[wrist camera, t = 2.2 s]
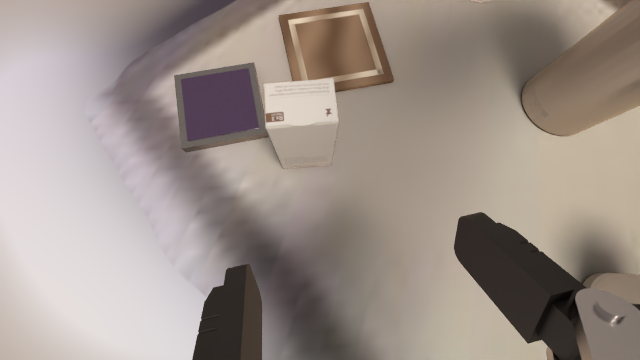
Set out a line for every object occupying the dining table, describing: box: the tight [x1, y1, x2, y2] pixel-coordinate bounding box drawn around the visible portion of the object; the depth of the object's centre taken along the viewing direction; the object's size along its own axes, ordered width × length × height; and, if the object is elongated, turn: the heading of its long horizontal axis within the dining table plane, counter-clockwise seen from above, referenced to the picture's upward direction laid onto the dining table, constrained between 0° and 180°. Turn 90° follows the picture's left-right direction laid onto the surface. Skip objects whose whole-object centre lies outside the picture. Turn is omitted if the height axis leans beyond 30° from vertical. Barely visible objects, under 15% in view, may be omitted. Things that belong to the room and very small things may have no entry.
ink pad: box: [174, 63, 268, 152], centre depth 34 cm, size 10×10×1 cm
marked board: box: [279, 2, 394, 92], centre depth 37 cm, size 13×13×1 cm
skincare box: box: [263, 78, 339, 169], centre depth 28 cm, size 6×4×12 cm
